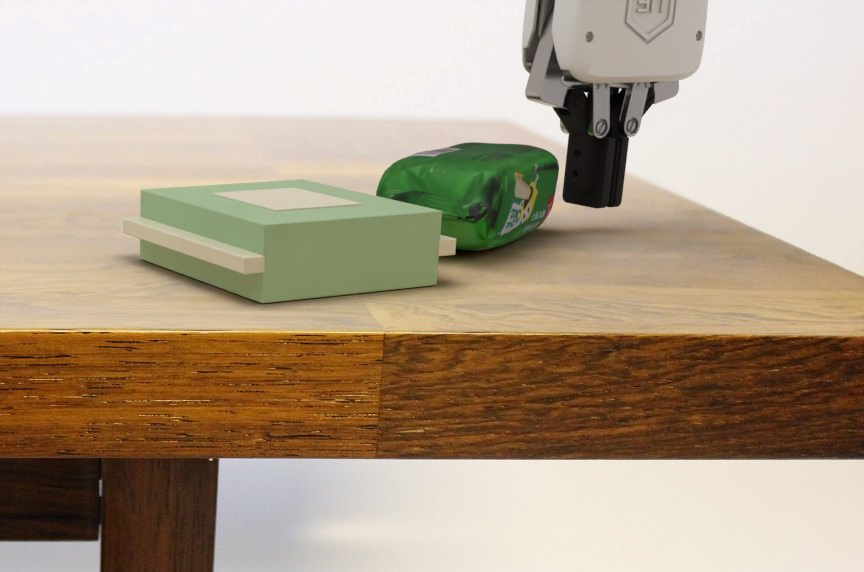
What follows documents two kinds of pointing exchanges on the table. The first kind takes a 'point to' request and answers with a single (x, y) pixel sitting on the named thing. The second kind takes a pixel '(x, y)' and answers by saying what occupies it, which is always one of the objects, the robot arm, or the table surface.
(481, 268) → the table surface
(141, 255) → the green block with rails
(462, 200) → the snack package
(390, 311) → the table surface
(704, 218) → the table surface
